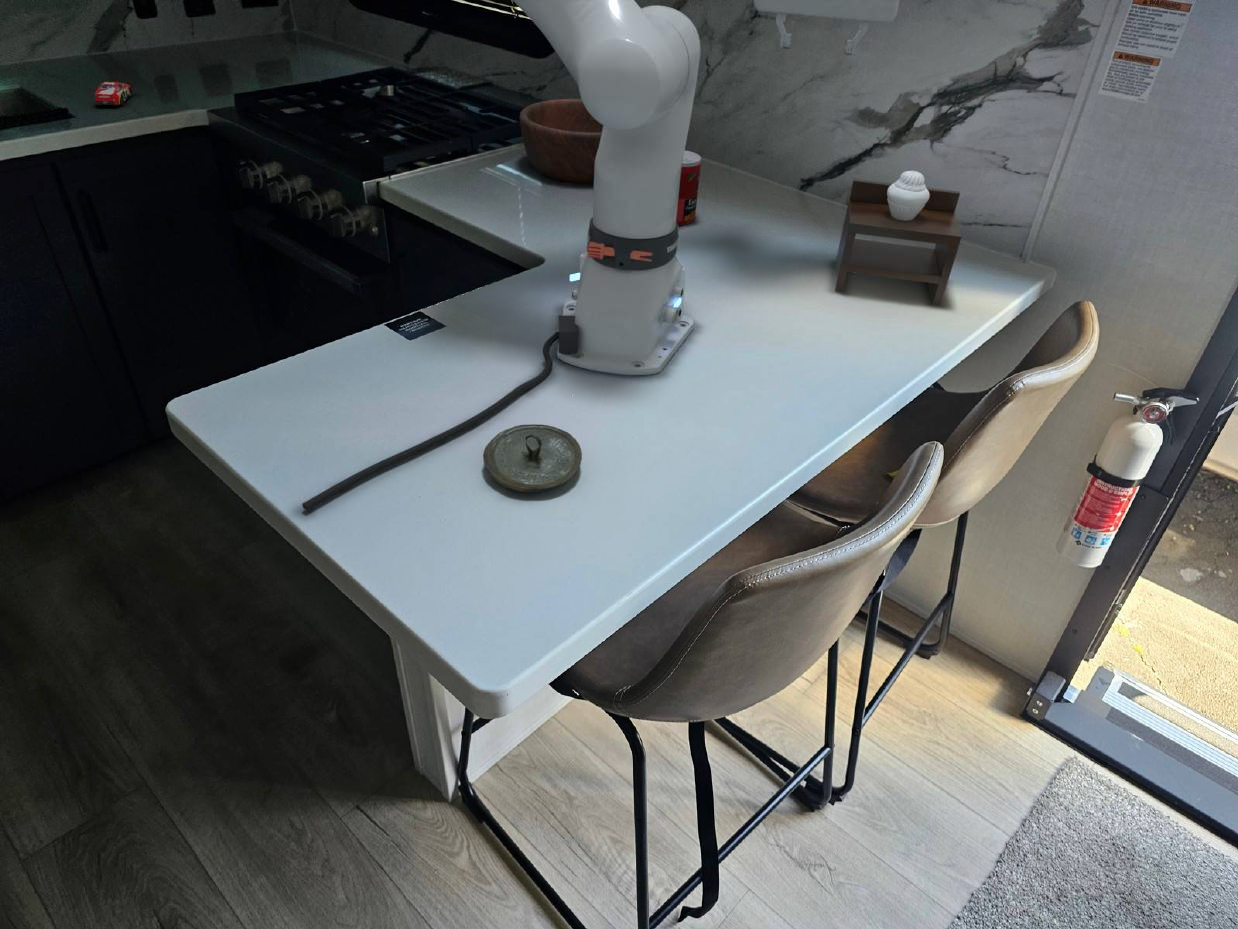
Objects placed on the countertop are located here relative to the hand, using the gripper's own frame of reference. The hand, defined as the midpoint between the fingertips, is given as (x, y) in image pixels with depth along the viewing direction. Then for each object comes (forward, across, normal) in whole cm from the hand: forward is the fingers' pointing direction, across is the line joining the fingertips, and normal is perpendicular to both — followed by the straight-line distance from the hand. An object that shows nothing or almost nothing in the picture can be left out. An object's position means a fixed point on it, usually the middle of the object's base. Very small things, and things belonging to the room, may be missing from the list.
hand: (816, 50), depth 125 cm
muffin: (+20, +17, -8) cm, 27 cm away
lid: (+31, -23, -69) cm, 79 cm away
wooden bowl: (+31, -42, +30) cm, 60 cm away
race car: (+31, -153, +37) cm, 161 cm away
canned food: (+31, -20, +9) cm, 38 cm away
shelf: (+31, +17, -8) cm, 36 cm away
